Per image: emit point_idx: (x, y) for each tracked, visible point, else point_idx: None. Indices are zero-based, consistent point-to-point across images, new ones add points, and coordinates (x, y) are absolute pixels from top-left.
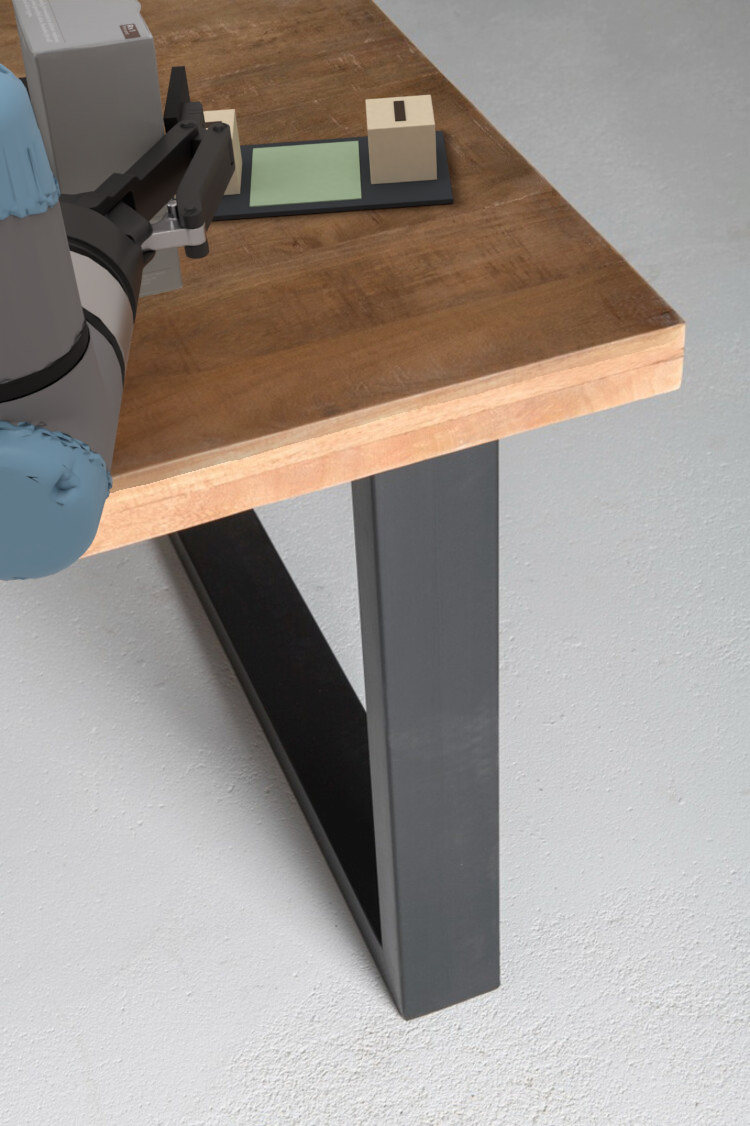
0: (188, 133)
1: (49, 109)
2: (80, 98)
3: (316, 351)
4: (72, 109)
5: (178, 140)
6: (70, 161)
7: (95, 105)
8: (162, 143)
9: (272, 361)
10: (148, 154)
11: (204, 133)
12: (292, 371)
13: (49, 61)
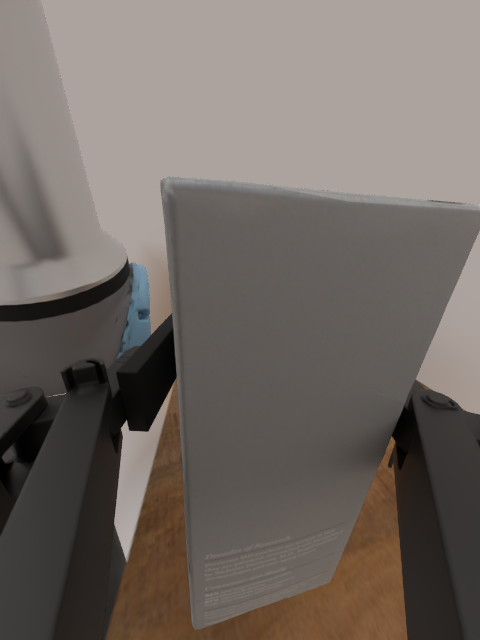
0: (469, 429)
1: (190, 365)
2: (277, 344)
3: (392, 557)
4: (250, 368)
5: (473, 453)
6: (220, 469)
7: (306, 362)
8: (444, 461)
9: (357, 568)
10: (452, 517)
11: (467, 420)
12: (385, 595)
13: (214, 222)
